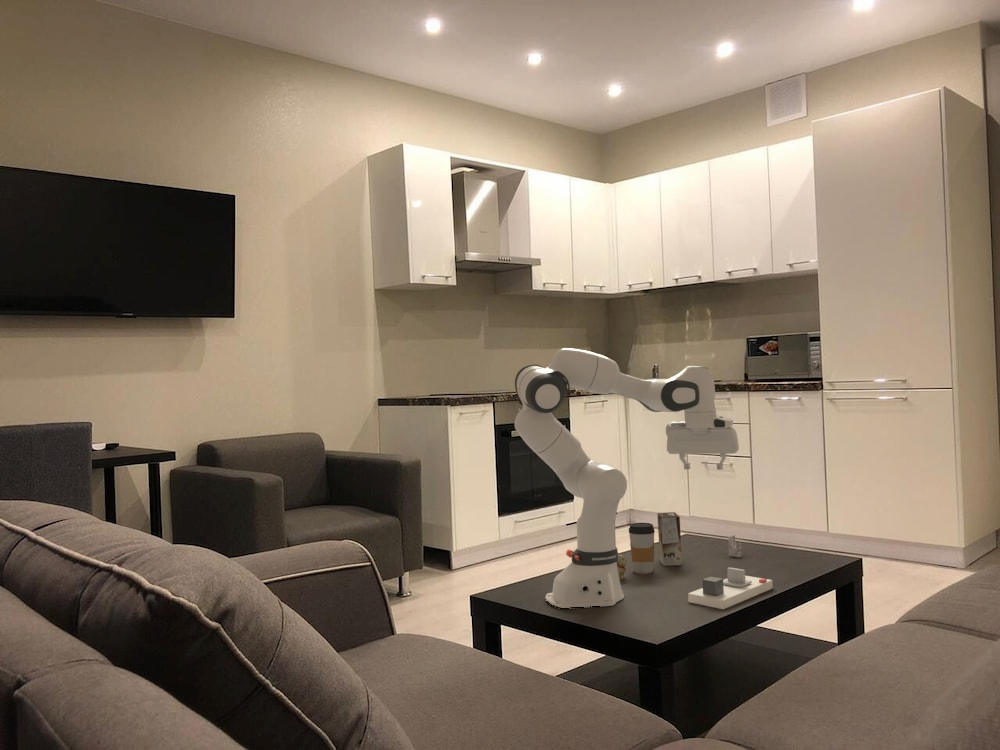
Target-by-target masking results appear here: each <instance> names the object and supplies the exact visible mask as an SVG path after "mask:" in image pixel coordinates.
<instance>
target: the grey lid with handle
mask: <svg viewBox="0 0 1000 750" xmlns="http://www.w3.org/2000/svg"><path fill="white" fill-rule="evenodd" d="M726 569H727V578H728V580H726V581H723V585H729V586H734V587H740V588H741V587H743V586H746V585H748V584H751V583H752V581H748V580H745V576H746V569H741V568H736V567H726Z"/></svg>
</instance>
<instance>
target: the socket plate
mask: <svg viewBox="0 0 1000 750" xmlns="http://www.w3.org/2000/svg"><path fill="white" fill-rule="evenodd" d="M726 580H728V577H727V578H724V579H723V581H726ZM745 580H748V581H752V583H751V584H748V585H746V586H743V587H741V588H740V587H734V586H729V585H723V588H724V593H723V594H721V595H718V596H711V595H706V594H703V587H701V588H698V589H696V590H692V591H691V592H689V593H688V594H687V595H688V596H687V598H688V603H690V604H691V603H692V604H697V605H699V606H700V605H701V606H706V607H710V608H714V609H715V608H716V609H719V610H725V609H728V608H730V607H732V606H734V605H737V604H739V603H742V602H744V601H746V600H749V599H751V598H753V597H755V596H757V595H760V594H763V593H765V592H768V591H770V590H772V589H773V587H774V586H773V585H774V584H773V580H772V579H769V578H768V579H767V578H765V577H763V578H762V577H756V576H750V575H745Z"/></svg>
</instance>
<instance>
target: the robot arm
mask: <svg viewBox="0 0 1000 750" xmlns="http://www.w3.org/2000/svg"><path fill="white" fill-rule="evenodd" d="M515 375H516V376H515V378H514V387H515V392H516V394H517V399H518V403H519V404H520V405H521V406H522V408H521V410H520V411H519V412H518V413H517V415H516V417H515V420H514V429H515V431H516V432H517V434H518V436H520V437H521V439H522V441H524V443H525V444H526V446H528V447H529V449H531V450H532V451H533V452H534V453H535V454H536V455H537V456H538V457H539V458H540V459H541V460H542V461H543V462H544V463H545V464H546V465H547V466H549V468H550V469H552V471H553V472H554V473H555V475H556V476H557V477H558V478H559V480H560V481H561V483H562V485H563V487H564V488H565V490H566V491H568V492H569V493H570V494H571V495H573V496H575V497H577V498H579V499H583V503H582V510H581V513H580V516H579V518H578V519H577V520H576V525H575V526H576V541H577V542H576V544H577V545H576V546H577V548H576V549H575V550H572V549H566V551H565V555H566V557H569V558H571V562H570V563H569V564H568V565H567V566H566V567H565V568H564V569H563V570H561V572H559V573H558V574H557V575H556V576H555V577H554V580H553V585H552V592H547V593H546V595H545V598H544V600H545V599H546V600H545V602H546V601H548V602H549V603H550V604H552V605H555V606H558V607H561V608H569V609H571V608H570V607H584V608H593V607H592V606H600V607H609V606H610V607H611V606H614V605H616V603H618V602H620V601H621V600H623V599H624V598H625V595H624V592H623V588H622V585H621V580H619V575H618V553H619V551H618V547H617V541H616V538H617V537H616V518H617V513H618V512H617V511H618V508H619V505H620V504H619V503H620V501H621V499H623V497H624V496H625V494H626V491H627V489H628V480H627V478H626V475H624V473H623V472H622V471H621V470H620V469H618V468H617V467H615V466H613V465H611V464H606V463H601V462H598V461H595V460H593V459H591V458H590V456H588V455H587V454H586V452H585V451H584V449H583V447H582V443H581V441H580V440H579V439H578V438H577V437H576V436H574V434H572V432H570V430H569V429H567V428H566V427H565V425H563V424H562V422H560V421H559V420H558V419H557V418H556V417H555V416H554V415H553V412H555V411H556V410H558V409H559V408H560V407H561V406H562V403H563V402H564V400H565V397H566V396H567V395H568V393H569V391H570V390H571V389H572V388H573V389H577V390H580V391H583V392H586V393H591V394H592V393H593V394H597V395H598V394H599V395H609V394H615V395H619V396H623V397H625V398H629V399H631V400H635V401H637V402H639V403H640V404H641V405H642V406H643V407H645V408H646V409H647V410H649V411H651V412H654V413H660V412H661V413H663V412H664V413H679V412H681V411H684V421H679V422H676V421H672V422H670V423H668V424H667V425H666V426H665V435H666V436H667V440H666V451H667V452H668V454H669V455H670V454H671V455H678V456H679V457H678V458H679V459H680V461H681V463H682V464H683V469H684V470H690V469H691V463H690V462H687V460H686V459H685V458H686V457H687V455H696V454H697V455H702V454H704V455H705V454H709V455H713V454H714V455H715V454H716V455H717V454H719V458H721V459H720V461H719V462H716V470H723V469H724V462H725V460H726V458H727V455H729V454H731V455H732V454H736V453H737V452H738V451H739V449H740V447H739V439H738V434H737V431H736V429H735V428H734V427H733V425H734V421H733V419H731V418H728V417H725V416H722V415H718V414H717V408H716V406H715V398H716V388H715V387H716V386H715V380H714V379H715V378H714V375H713V371H712V370H711V369H710V368H709V367H706V366H701V365H688V366H685V367H684V369H683V370H681V371H680V372H679V373H677V374H675V375H673V376H671V377H669V378H657V377H656V378H655V377H654V378H649V379H642V378H639V377H636V376H632V375H628V374H625V373H623V372H621V370H620V366H619V365H618V364H617V362H616V361H615V360H613V359H611V358H609V357H607V356H605V355H602V354H599V353H596V352H593V351H589V350H585V349H579V348H569V347H568V348H567V347H563V348H560V349H559V350H557V351H556V352H555V353H554V354H553V356H552V359H551V363H549V365H548V366H546V367H544V366H542V365H539V364H527V365H525V366H523V367H521V369H519V371H518V372H517V373H516V374H515ZM550 604H549V605H550ZM590 606H591V607H590Z"/></svg>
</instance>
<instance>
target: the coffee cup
mask: <svg viewBox="0 0 1000 750" xmlns="http://www.w3.org/2000/svg"><path fill="white" fill-rule="evenodd" d="M655 532H656V531H655V527H654V524H653V523H650V522H633V523H631V524H629V528H628V533H629V541H630V542H629V546H630V554H631V563H632V567H633V568H632V569H633V571H634V573H636V574H651V573H653V571H654V570H655V569H654V562H655Z"/></svg>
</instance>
